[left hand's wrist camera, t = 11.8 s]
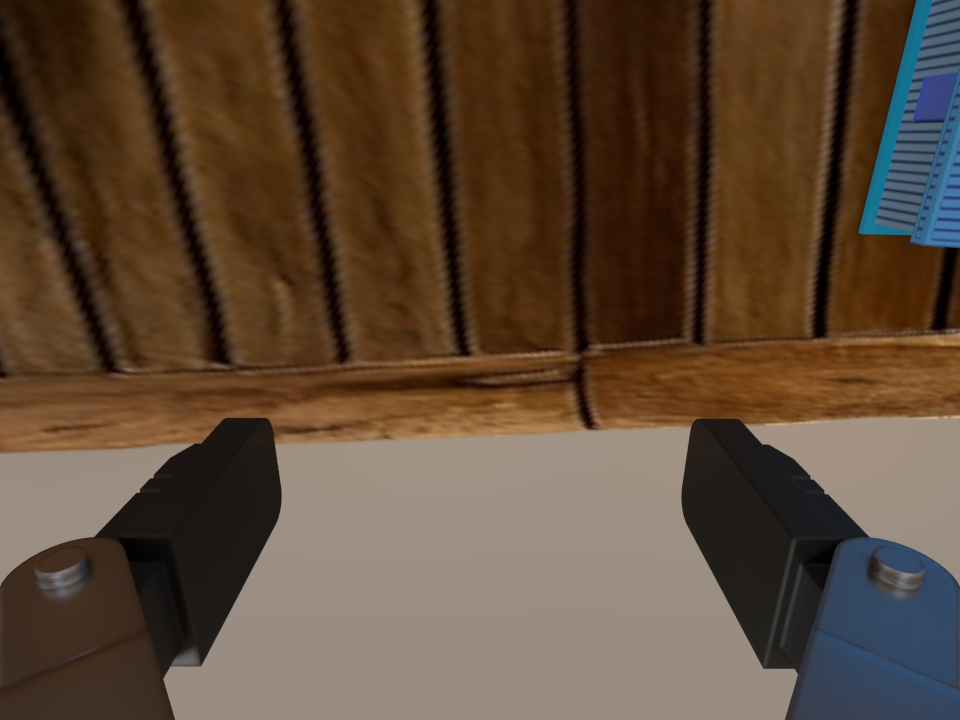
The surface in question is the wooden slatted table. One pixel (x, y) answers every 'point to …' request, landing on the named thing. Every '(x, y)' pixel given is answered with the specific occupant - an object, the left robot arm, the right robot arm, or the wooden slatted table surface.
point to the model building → (922, 136)
